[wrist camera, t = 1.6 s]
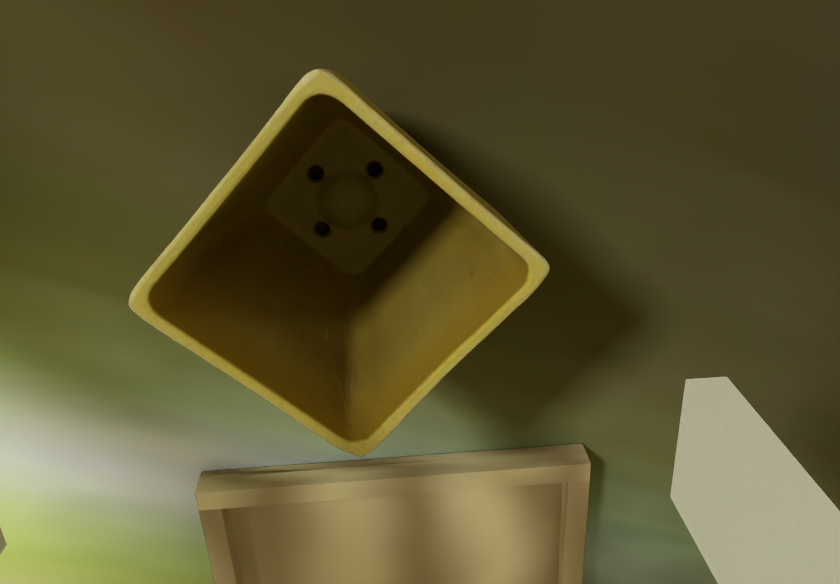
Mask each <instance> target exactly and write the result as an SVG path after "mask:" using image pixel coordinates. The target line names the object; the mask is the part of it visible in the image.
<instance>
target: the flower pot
mask: <svg viewBox="0 0 840 584" xmlns="http://www.w3.org/2000/svg"><path fill="white" fill-rule="evenodd" d="M371 162H378V163H379V164H380V165H381V167H382V172H381V173H380V174H379V175H377V176H372V175H370V174H369V173H368V170H367V167H368V165H369V164H370V163H371ZM312 166H318V167H320V168H321V169H322V171H323V176H322V177H321V178H320V179H318V180H315V179H312V178H311V177H310V176H309V172H308V171H309V169H310V168H311V167H312ZM376 218H382V219H384V220H385V222H386V226H385V228H384V229H383V230H381V231H378V230H375V229H374V228H373V227H372V222H373V220H374V219H376ZM320 222H325V223H327V224H328V226H329V228H330V229H329V232H328V233H327V234H326V235H321V234H319V233H317V232H316V230H315V227H316V225H317V223H320ZM549 270H550V266H549V264H548V262H547V261H546V259H545V258H544V257H543V256H542V255H541V254H540V253H539V252H538V251H537V250H536V249H535V248H534V247H533V246H532V245H531V244H530V243H529V242H528V241H527V240H526V239H525V238H524V237H523V236H522V235H521V234H520V233H519V232H518V231H517V230H516V229H515V228H514V227H513V226H512V225H511V224H510V223H509V222H508V221H507V220H506V219H505V218H504V217H503V216H502V215H501V214H500V213H499V212H498V211H496V210H495V209H494V208H493V207H492V206H491V205H489V204H488V203H487V202H486V201H485V200H484V199H482V198H481V197H480V196H479V195H478V194H476V193H475V192H474V191H473V190H472V189H471V188H469V187H468V186H467V185H466V184H465V183H463V182H462V181H461V180H460V179H459V178H458V177H456V176H455V175H454V174H453V173H452V172H450V171H449V170H448V169H447V168H446V167H445V166H443V165H442V164H441V163H440V162H439V161H438V160H436V159H435V158H434V157H433V156H432V155H431V154H430V153H428V152H427V151H426V150H425V149H424V148H423V147H422V146H421V145H419V144H418V143H417V142H416V141H415V140H414V139H413V138H412V137H411V136H409V135H408V134H407V133H406V132H405V131H404V130H403V129H402V128H400V127H399V126H398V125H397V124H396V123H395V122H394V121H393V120H392V119H390V118H389V117H388V116H387V115H386V114H385V113H384V112H383V111H382V110H380V109H379V108H378V107H377V106H376V105H375V104H374V103H373V102H372V101H370V100H369V99H368V98H367V97H366V96H365V95H364V94H363V93H362V92H361V91H359V90H358V89H357V88H356V87H355V86H354V85H353V84H352V83H351V82H350V81H349V80H347V79H346V78H345V77H344V76H343V75H341V74H339V73H338V72H335V71H332V70H328V69H316V70H312V71H310V72H309V73H307V74H306V75H305V76H304V77H303V78H302V79H301V80H300V81H299V82H298V83H297V85H296V86H295V87H294V88H293V90H292V91H291V92H290V94H289V95H288V96H287V97H286V99H285V100H284V102H283V103H282V104H281V106H280V107H279V108H278V110H277V111H276V112H275V113H274V115H273V116H272V117H271V119H270V120H269V121H268V122H267V124H266V125H265V126H264V128H263V129H262V130H261V131H260V133H259V134H258V135H257V136H256V138H255V139H254V140H253V142H252V143H251V144H250V145H249V147H248V148H247V149H246V150H245V152H244V153H243V154H242V155H241V157H240V158H239V159H238V160H237V162H236V163H235V164H234V165H233V167H232V168H231V169H230V170H229V172H228V173H227V174H226V175H225V177H224V178H223V179H222V180H221V181H220V183H219V184H218V185H217V186H216V188H215V189H214V190H213V191H212V192H211V194H210V195H209V196H208V197H207V199H206V200H205V201H204V202H203V204H202V205H201V206H200V207H199V209H198V210H197V211H196V212H195V214H194V215H193V216H192V217H191V219H190V220H189V221H188V222H187V224H186V225H185V226H184V227H183V228H182V230H181V231H180V232H179V233H178V235H177V236H176V237H175V238H174V239H173V240H172V242H171V243H170V244H169V245H168V246H167V248H166V249H165V250H164V251H163V252H162V253H161V255H160V256H159V257H158V258H157V259H156V261H155V262H154V263H153V264H152V265H151V267H150V268H149V269H148V270H147V272H146V273H145V274H144V275H143V277H142V278H141V279H140V280H139V282H138V283H137V285H136V286H135V287H134V289H133V290H132V292H131V294H130V298H129V307H130V308H131V309H132V310H133V311H134V312H135V313H136V314H137V315H138V316H139V317H141V318H142V319H143V320H144V321H146V322H148V323H149V324H151V325H152V326H153V327H155V328H156V329H158V330H159V331H161V332H162V333H164V334H165V335H167V336H169V337H170V338H172V339H173V340H174V341H176V342H177V343H179V344H181V345H183V346H184V347H186V348H187V349H189V350H191V351H192V352H194V353H195V354H197V355H198V356H200V357H201V358H203V359H204V360H206V361H207V362H209V363H210V364H212V365H213V366H215V367H217V368H218V369H220V370H221V371H223V372H224V373H226V374H228V375H229V376H231V377H232V378H234V379H235V380H237V381H238V382H240V383H242V384H243V385H245V386H246V387H248V388H249V389H251V390H252V391H253V392H255V393H257V394H258V395H260V396H261V397H263V398H264V399H265V400H267V401H269V402H270V403H272V404H273V405H275V406H276V407H278V408H279V409H281V410H282V411H283V412H285V413H286V414H288V415H289V416H291V417H292V418H293V419H295V420H296V421H298V422H299V423H301V424H302V425H304V426H305V427H307V428H308V429H310V430H311V431H313V432H314V433H316V434H317V435H319V436H320V437H322V438H323V439H325V440H326V441H328V442H329V443H330V444H332V445H334V446H335V447H337V448H339V449H341V450H343V451H346V452H348V453H351V454H353V455H356V456H360V457H362V456H365V455H366V454H368V453H369V452H371V451H372V450H373V449H374V448H375V447H376V446H378V444H379V443H380V442H381V441H382V440H383V439H384V438H385V437H386V436H387V435H388V434H389V433H390V432H391V431H392V430H393V429H394V428H395V427H396V426H397V425H398V424H399V423H400V422H401V421H402V420H403V419H404V417H405V416H406V415H407V414H408V413H409V412H410V411H411V410H412V409H413V408H414V407H415V406H416V405H417V404H418V403H419V402H420V401H421V400H422V399H423V398H424V397H425V396H426V395H427V394H428V393H429V392H430V391H431V390H432V389H433V388H434V387H435V385H436V384H437V383H439V382H440V380H441V379H442V378H443V377H444V376H445V375H446V374H447V373H448V372H449V371H450V370H451V369H452V368H453V367H454V366H455V365H457V364H458V363H459V362H460V361H461V360H462V359H463V358H464V357H465V356H466V355H467V354H468V353H469V352H470V351H471V350H472V349H474V348H475V347H476V346H477V345H478V344H479V343H480V342H481V341H482V340H483V339H484V338H485V337H487V336H488V335H489V334H490V333H491V332H492V331H493V330H494V329H495V328H496V327H497V326H498V325H499V324H500V323H501V322H502V321H504V320H505V319H506V318H507V317H508V315H510V314H511V313H512V312H513V311H514V310H515V309H516V308H517V307H518V306H519V305H521V304H522V303H523V302H524V301H525V300H526V299H527V298H528V297H529V296H530V295H531V294H532V293H533V292H534V291H535V290H536V289H537V287H538V286H539V285H540V284H541V283H542V281H543V280H544V279H545V277H546V276H547V274H548V273H549Z"/></svg>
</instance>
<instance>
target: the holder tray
mask: <svg viewBox="0 0 840 584" xmlns="http://www.w3.org/2000/svg"><path fill="white" fill-rule="evenodd" d="M590 470H591V462H590V460H589V458H588V455H587V453H586V451H585V449H584V446H583V444H582V443H581V444H568V445H554V446H541V447H527V448H514V449H500V450H487V451H473V452H460V453H446V454H433V455H420V456H406V457H393V458H379V459H366V460H352V461H339V462H325V463H312V464H299V465H285V466H272V467H258V468H245V469H231V470H218V471H204V472H202V473H201V476H200V479H199V482H198V486H197V489H196V492H195V496H196V500H197V505H198V509H199V514H200V518H201V523H202V527H203V531H204V536H205V540H206V545H207V549H208V554H209V558H210V562H211V567H212V571H213V576H214V580H215V584H582V580H583V566H584V552H585V539H586V525H587V511H588V498H589V484H590Z"/></svg>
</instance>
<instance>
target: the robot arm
mask: <svg viewBox="0 0 840 584" xmlns="http://www.w3.org/2000/svg"><path fill="white" fill-rule="evenodd" d="M670 497H671V499H672V501H673V503H674V504H675V506H676V508H677V510H678V512H679V514H680V515H681V517H682V519H683V521H684V523H685V525H686V526H687V528H688V530H689V532H690V534H691V536H692V537H693V539H694V541H695V543H696V545H697V547H698V548H699V550H700V552H701V554H702V556H703V558H704V559H705V561H706V563H707V565H708V567H709V569H710V570H711V572H712V574H713V576H714V578H715V579H716V581H717V583H718V584H840V511H839V510H838V509H837V507H836V506H835V505H834V504H833V503H832V502H831V500H830V499H829V498H828V497H827V496H826V494H825V493H824V492H823V491H822V490H821V488H820V487H819V486H818V485H817V484H816V482H815V481H814V480H813V479H812V478H811V477H810V475H809V474H808V473H807V472H806V471H805V469H804V468H803V467H802V466H801V465H800V463H799V462H798V461H797V460H796V459H795V457H794V456H793V455H792V454H791V453H790V452H789V450H788V449H787V448H786V447H785V446H784V444H783V443H782V442H781V441H780V440H779V438H778V437H777V436H776V435H775V434H774V432H773V431H772V430H771V429H770V428H769V427H768V425H767V424H766V423H765V422H764V421H763V419H762V418H761V417H760V416H759V415H758V413H757V412H756V411H755V410H754V409H753V407H752V406H751V405H750V404H749V403H748V402H747V400H746V399H745V398H744V397H743V396H742V394H741V393H740V392H739V391H738V390H737V388H736V387H735V386H734V385H733V384H732V382H731V381H730V380H729V379H728V378H727V377H715V378H700V379H686V382H685V389H684V397H683V404H682V412H681V420H680V427H679V435H678V442H677V450H676V457H675V465H674V473H673V480H672V488H671V495H670ZM6 545H7V544H6V542H5V539H4V536H3V534H2V531H1V528H0V554H1V553H2V551H3V549H4V548H5V546H6Z"/></svg>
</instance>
